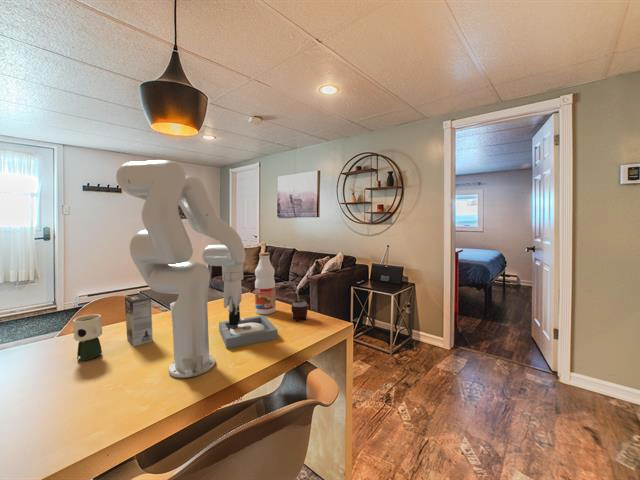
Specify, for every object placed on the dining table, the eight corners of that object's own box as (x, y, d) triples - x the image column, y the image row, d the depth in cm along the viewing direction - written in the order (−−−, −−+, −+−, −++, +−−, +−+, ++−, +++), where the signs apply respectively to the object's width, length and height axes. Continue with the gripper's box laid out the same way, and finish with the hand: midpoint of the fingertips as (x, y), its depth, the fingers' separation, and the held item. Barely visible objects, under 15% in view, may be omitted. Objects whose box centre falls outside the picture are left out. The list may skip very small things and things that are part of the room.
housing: (277, 338, 107) (277, 329, 107) (226, 349, 99) (226, 338, 99) (264, 323, 123) (263, 314, 123) (219, 331, 115) (218, 321, 115)
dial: (268, 325, 116) (267, 303, 116) (258, 338, 104) (257, 313, 103) (237, 324, 118) (237, 302, 117) (224, 337, 105) (223, 312, 105)
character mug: (66, 359, 92) (63, 319, 91) (90, 350, 99) (88, 312, 98) (89, 365, 88) (86, 323, 88) (113, 355, 95) (110, 316, 94)
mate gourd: (304, 323, 123) (303, 287, 122) (287, 321, 126) (286, 286, 125) (310, 317, 130) (310, 284, 129) (294, 315, 133) (293, 283, 132)
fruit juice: (279, 311, 139) (278, 252, 137) (264, 316, 132) (263, 254, 130) (266, 307, 145) (265, 251, 143) (251, 312, 138) (249, 253, 136)
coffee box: (126, 339, 107) (123, 296, 106) (145, 334, 112) (143, 293, 111) (133, 347, 101) (131, 301, 100) (154, 341, 106) (151, 297, 105)
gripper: (227, 271, 117) (229, 316, 119) (216, 280, 101) (219, 332, 103) (246, 271, 118) (248, 315, 120) (238, 280, 102) (240, 331, 103)
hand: (234, 322), depth 111 cm, fingers open, 2 cm apart
